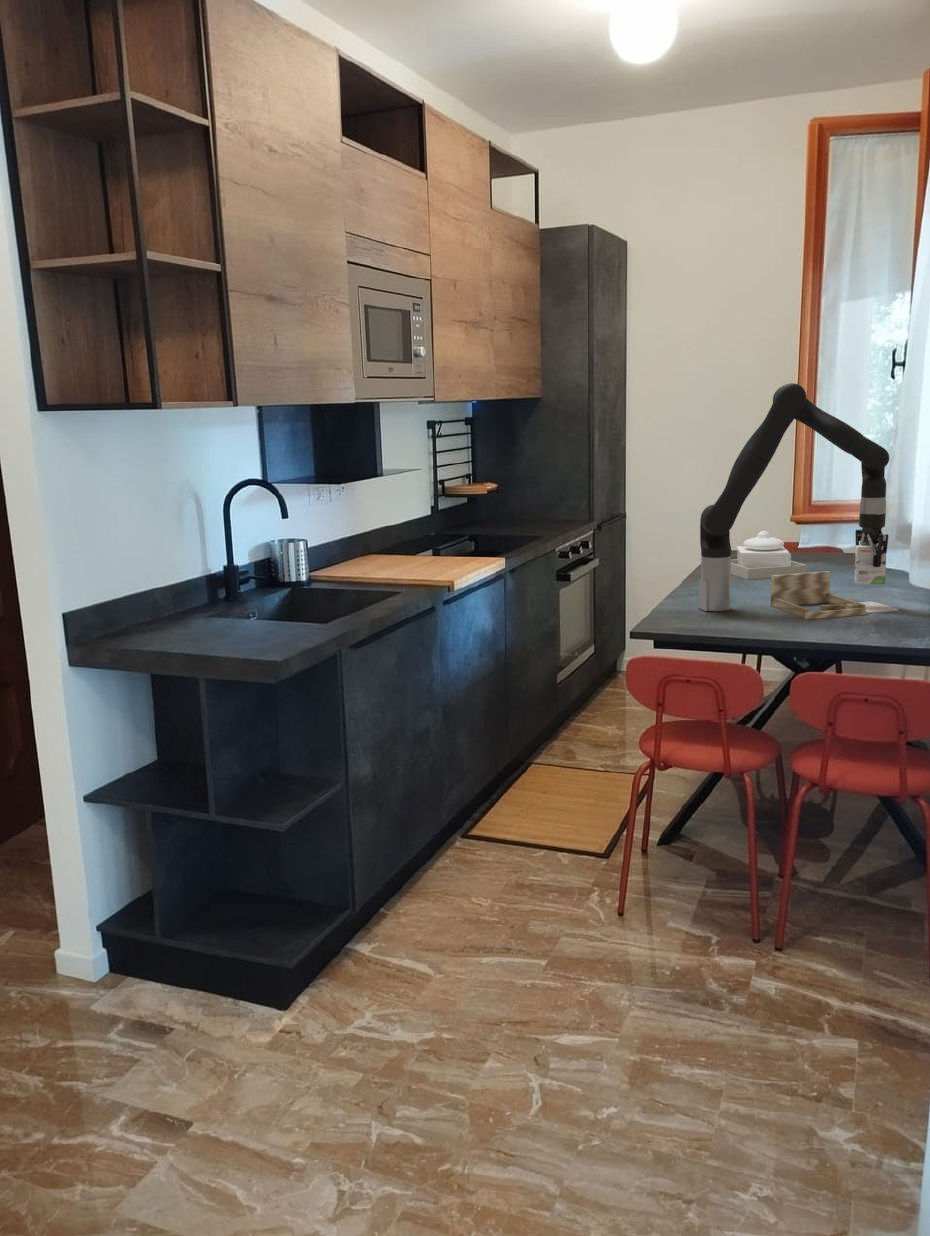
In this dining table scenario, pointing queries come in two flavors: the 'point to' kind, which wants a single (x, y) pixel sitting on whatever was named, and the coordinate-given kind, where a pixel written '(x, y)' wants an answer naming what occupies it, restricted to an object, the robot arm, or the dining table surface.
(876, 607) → the felt mat
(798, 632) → the dining table surface
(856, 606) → the maple offcut
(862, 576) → the ink box
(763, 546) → the white lidded dish
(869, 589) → the dining table surface
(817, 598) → the rack
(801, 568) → the square grey tray
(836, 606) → the walnut offcut
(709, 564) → the robot arm
